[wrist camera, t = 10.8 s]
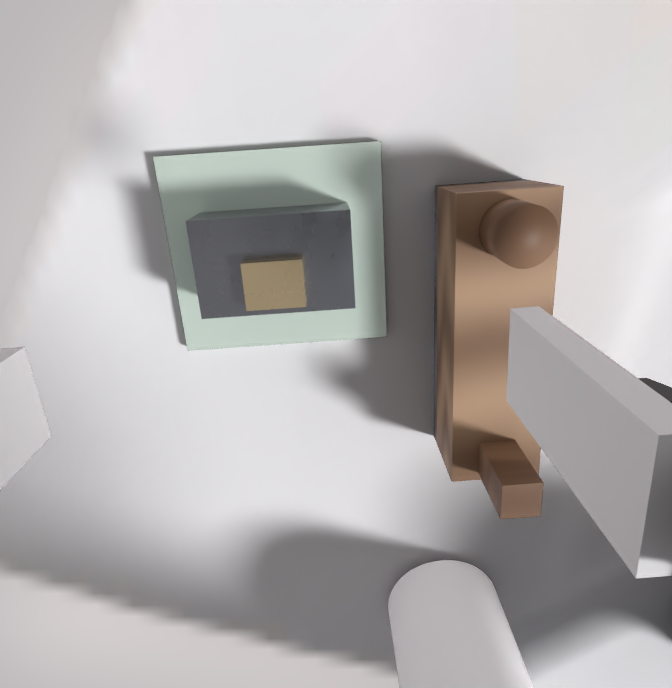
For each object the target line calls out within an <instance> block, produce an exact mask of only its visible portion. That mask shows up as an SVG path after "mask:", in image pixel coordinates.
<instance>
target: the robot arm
mask: <svg viewBox="0 0 672 688" xmlns="http://www.w3.org/2000/svg"><path fill="white" fill-rule="evenodd" d="M506 401H507V402H508V403H509V405H510V406H511V408H512V409H513V410H514V412H515V413H516V414H517V416H518V417H519V419H520V420H521V421H522V423H523V424H524V425H525V427H526V428H527V430H528V431H529V432H530V434H531V435H532V436H533V438H534V439H535V441H536V442H537V443H538V445H539V446H540V447H541V449H542V450H543V451H544V453H545V454H546V456H547V457H548V458H549V460H550V461H551V462H552V464H553V465H554V467H555V468H556V469H557V471H558V472H559V473H560V475H561V476H562V478H563V479H564V480H565V482H566V483H567V484H568V486H569V487H570V489H571V490H572V491H573V493H574V494H575V495H576V497H577V498H578V500H579V501H580V502H581V504H582V505H583V506H584V508H585V509H586V511H587V512H588V513H589V515H590V516H591V517H592V519H593V520H594V522H595V523H596V524H597V526H598V527H599V528H600V530H601V531H602V533H603V534H604V535H605V537H606V538H607V539H608V541H609V542H610V544H611V545H612V546H613V548H614V549H615V550H616V552H617V553H618V555H619V556H620V557H621V559H622V560H623V561H624V563H625V564H626V566H627V567H628V568H629V570H630V571H631V572H632V574H633V575H634V577H635V578H636V579H637V578H650V577H663V576H672V388H671V387H669V386H666V385H664V384H661V383H658V382H656V381H653V380H651V379H648V378H639V379H638V378H637V377H635V376H634V375H632V374H631V373H630V372H628V371H627V370H626V369H624V368H623V367H621V366H620V365H619V364H617V363H616V362H615V361H613V360H612V359H610V358H609V357H608V356H606V355H605V354H604V353H602V352H601V351H600V350H598V349H597V348H595V347H594V346H593V345H591V344H590V343H589V342H587V341H586V340H584V339H583V338H582V337H580V336H579V335H578V334H576V333H575V332H573V331H572V330H571V329H569V328H568V327H567V326H565V325H564V324H562V323H561V322H560V321H558V320H557V319H556V318H554V317H553V316H552V315H550V314H549V313H547V312H546V311H545V310H543V309H542V308H541V307H539V306H537V307H524V308H511V309H510V330H509V354H508V377H507V400H506ZM50 437H51V432H50V429H49V426H48V422H47V419H46V416H45V413H44V409H43V406H42V403H41V399H40V396H39V393H38V390H37V386H36V383H35V380H34V376H33V373H32V370H31V367H30V363H29V360H28V357H27V353H26V350H25V347H17V348H5V349H0V490H1V489H2V488H3V487H4V486H5V485H6V484H7V483H8V482H9V481H10V479H11V478H12V477H13V476H14V475H15V474H16V473H17V472H18V471H19V470H20V469H21V468H22V467H23V466H24V465H25V464H26V463H27V462H28V461H29V459H30V458H31V457H32V456H33V455H34V454H35V453H36V452H37V451H38V450H39V449H40V448H41V447H42V446H43V445H44V444H45V443H46V442H47V440H48V439H49V438H50Z"/></svg>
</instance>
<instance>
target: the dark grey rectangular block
mask: <svg viewBox="0 0 672 688" xmlns="http://www.w3.org/2000/svg"><path fill="white" fill-rule="evenodd" d="M186 228H187V234H188V240H189V246H190V252H191V258H192V264H193V270H194V276H195V282H196V288H197V294H198V300H199V306H200V312H201V318H202V319H210V318H225V317H239V316H253V315H267V314H281V313H296V312H310V311H324V310H338V309H352V308H356V307H355V289H354V270H353V251H352V233H351V214H350V208H349V206H348V204H347V202H342V203H328V204H313V205H299V206H285V207H270V208H256V209H242V210H227V211H213V212H201V213H199V214H197V215H195V216H194V217H192V218H190V219H188V220H187V221H186Z"/></svg>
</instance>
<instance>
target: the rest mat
mask: <svg viewBox="0 0 672 688" xmlns="http://www.w3.org/2000/svg"><path fill="white" fill-rule="evenodd" d="M153 159H154V165H155V171H156V176H157V182H158V187H159V193H160V199H161V204H162V210H163V215H164V221H165V227H166V232H167V238H168V243H169V249H170V255H171V260H172V266H173V271H174V277H175V282H176V288H177V294H178V299H179V305H180V310H181V316H182V322H183V327H184V333H185V338H186V344H187V350H188V351H190V350H204V349H219V348H233V347H247V346H261V345H276V344H290V343H304V342H318V341H332V340H347V339H361V338H375V337H387V329H386V297H385V266H384V234H383V202H382V171H381V141H374V142H360V143H345V144H331V145H316V146H302V147H287V148H273V149H258V150H244V151H229V152H215V153H200V154H186V155H171V156H157V157H153ZM342 202H347V204H348V206H349V208H350V214H351V233H352V251H353V270H354V289H355V307H356V308H352V309H338V310H324V311H310V312H296V313H281V314H267V315H253V316H239V317H225V318H210V319H202V318H201V312H200V306H199V300H198V294H197V288H196V282H195V276H194V270H193V264H192V258H191V252H190V246H189V240H188V234H187V228H186V221H187V220H188V219H190V218H192V217H194V216H195V215H197V214H199V213H201V212H213V211H227V210H242V209H256V208H270V207H285V206H299V205H313V204H328V203H342Z"/></svg>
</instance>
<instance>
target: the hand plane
mask: <svg viewBox="0 0 672 688" xmlns="http://www.w3.org/2000/svg"><path fill="white" fill-rule="evenodd" d="M563 190H564V186H560V185H554V184H548V183H543V182H537V181H531V180H525V179H524V180H509V181H495V182H480V183H466V184H451V185H437V186H435V298H434V437H435V440H436V442H437V445H438V448H439V450H440V453H441V455H442V458H443V460H444V463H445V466H446V468H447V471H448V473H449V476H450V478H451V481H466V480H480V479H481V480H482V482H483V484H484V486H485V488H486V490H487V492H488V494H489V496H490V498H491V500H492V502H493V504H494V507H495V509H496V511H497V513H498V515H499V517H500V519H510V518H524V517H538V516H540V515H541V505H542V494H543V481H542V480H541V478H540V477H539V475H538V474H539V463H540V451H541V447H540V446H539V445H538V443H537V442H536V441H535V439H534V438H533V436H532V435H531V434H530V432H529V431H528V430H527V428H526V427H525V425H524V424H523V423H522V421H521V420H520V419H519V417H518V416H517V414H516V413H515V412H514V410H513V409H512V408H511V406H510V405H509V403H508V402H507V401H506V400H507V377H508V354H509V330H510V309H511V308H524V307H537V306H539V307H541V308H542V309H543V310H545V311H546V312H547V313H549V314H550V315H553V304H554V292H555V281H556V270H557V258H558V247H559V235H560V224H561V213H562V201H563Z"/></svg>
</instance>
